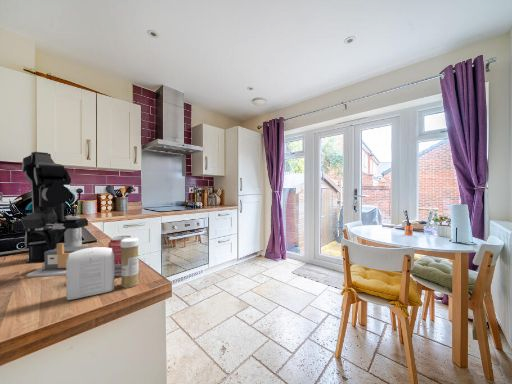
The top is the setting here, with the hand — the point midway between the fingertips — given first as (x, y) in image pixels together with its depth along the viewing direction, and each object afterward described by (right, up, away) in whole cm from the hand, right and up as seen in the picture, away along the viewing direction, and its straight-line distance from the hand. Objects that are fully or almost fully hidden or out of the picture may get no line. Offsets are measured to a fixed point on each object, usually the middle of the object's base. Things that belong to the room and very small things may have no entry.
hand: (52, 249), depth 71 cm
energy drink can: (-17, -8, +28) cm, 33 cm away
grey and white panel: (+2, -8, +5) cm, 10 cm away
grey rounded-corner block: (+23, -9, -13) cm, 28 cm away
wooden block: (+4, -6, +1) cm, 7 cm away
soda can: (+23, -8, 0) cm, 24 cm away
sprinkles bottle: (+31, -8, -8) cm, 33 cm away
